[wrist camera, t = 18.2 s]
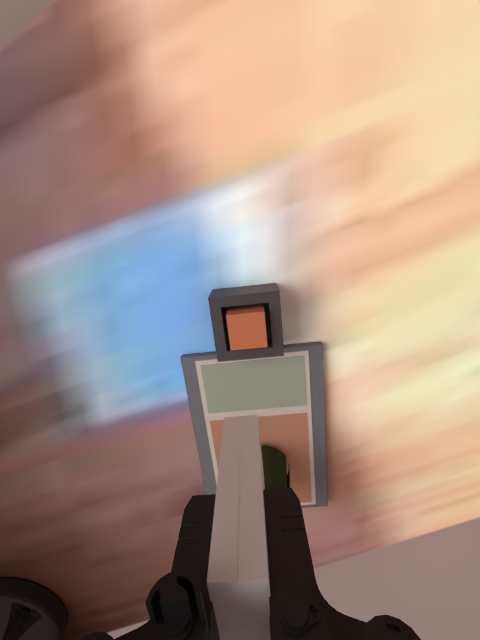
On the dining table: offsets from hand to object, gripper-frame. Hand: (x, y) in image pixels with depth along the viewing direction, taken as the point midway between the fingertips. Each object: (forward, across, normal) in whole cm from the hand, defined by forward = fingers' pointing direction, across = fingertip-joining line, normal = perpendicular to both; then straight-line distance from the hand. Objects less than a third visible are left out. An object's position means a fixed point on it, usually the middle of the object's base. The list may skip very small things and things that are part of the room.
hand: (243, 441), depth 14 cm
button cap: (+17, 0, 0) cm, 17 cm away
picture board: (+19, 0, -14) cm, 24 cm away
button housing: (+19, 0, 0) cm, 19 cm away
